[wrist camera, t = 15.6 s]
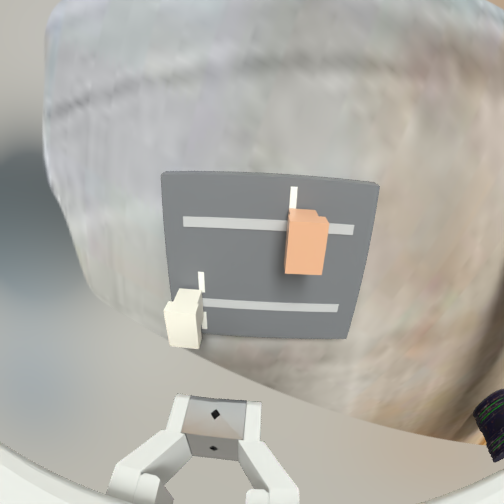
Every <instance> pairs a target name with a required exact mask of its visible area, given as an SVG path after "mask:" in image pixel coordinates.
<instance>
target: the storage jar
mask: <svg viewBox="0 0 504 504" xmlns="http://www.w3.org/2000/svg"><path fill="white" fill-rule="evenodd" d="M473 415H474V417H475V420H476V421H477V422H476V423H477V425H478V427H479V429H480V431H481V432H482V433H483V435H484V437H485V440H486V442H487V444H486V445H487V447H488V449H489V453H490V454H491V457H492V458H493V462H497V461H499V460H501V459H503V458H504V389H501V390H498V391H496V392H494V393H492V394H491V395H489V396H488V397H487V398H485V399H484V400H483V401H482V402H481V403H480V404H479V405H478V406H477V407H476V409H475V410H474V412H473Z"/></svg>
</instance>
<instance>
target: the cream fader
mask: <svg viewBox="0 0 504 504" xmlns="http://www.w3.org/2000/svg"><path fill="white" fill-rule="evenodd" d="M164 317H165V323H166V328H167V334H168V339H169V345H170V346H174V347H183V348H192V349H199V347H200V343H201V340H202V336H201V325H202V322H203V318H204V315H203V301H202V290H196V289H182V288H179V290H178V292H177V294H176V297H175V299H174V301H173V302H172V301H168V303H167V305H166V307H165V309H164Z"/></svg>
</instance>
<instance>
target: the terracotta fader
mask: <svg viewBox="0 0 504 504" xmlns="http://www.w3.org/2000/svg"><path fill="white" fill-rule="evenodd" d="M328 230H329V222H328V220H327V219H326V217H322V216H318V214H317V212H316V210H308V209H293V208H289V212H288V223H287V235H286V246H285V258H284V270H285V274H306V275H322V270H323V264H324V258H325V251H326V244H327V237H328Z"/></svg>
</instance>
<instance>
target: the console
mask: <svg viewBox="0 0 504 504" xmlns="http://www.w3.org/2000/svg"><path fill="white" fill-rule="evenodd" d="M161 188H162V206H163V220H164V233H165V244H166V255H167V264H168V274H169V282H170V291H171V298H172V302H173V301H174V299H175V297H176V294H177V292H178V290H179V288H182V289H196V290H202V301H203V315H204V318H203V322H202V325H201V333H204V334H217V335H230V336H246V337H267V338H299V339H346V338H347V335H348V331H349V328H350V324H351V321H352V317H353V314H354V310H355V306H356V302H357V298H358V294H359V290H360V286H361V282H362V278H363V273H364V269H365V265H366V260H367V255H368V250H369V246H370V241H371V235H372V230H373V225H374V219H375V213H376V207H377V201H378V195H379V188H380V186H379V185H378V184H376V183H375V182H367V181H358V180H349V179H339V178H328V177H317V176H304V175H290V174H273V173H252V172H218V171H166V172H164V173H163V174H161ZM289 208H293V209H308V210H316V212H317V214H318V216H322V217H326V219H327V220H328V222H329V230H328V237H327V244H326V251H325V258H324V264H323V270H322V275H306V274H285V270H284V258H285V246H286V235H287V223H288V212H289Z"/></svg>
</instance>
